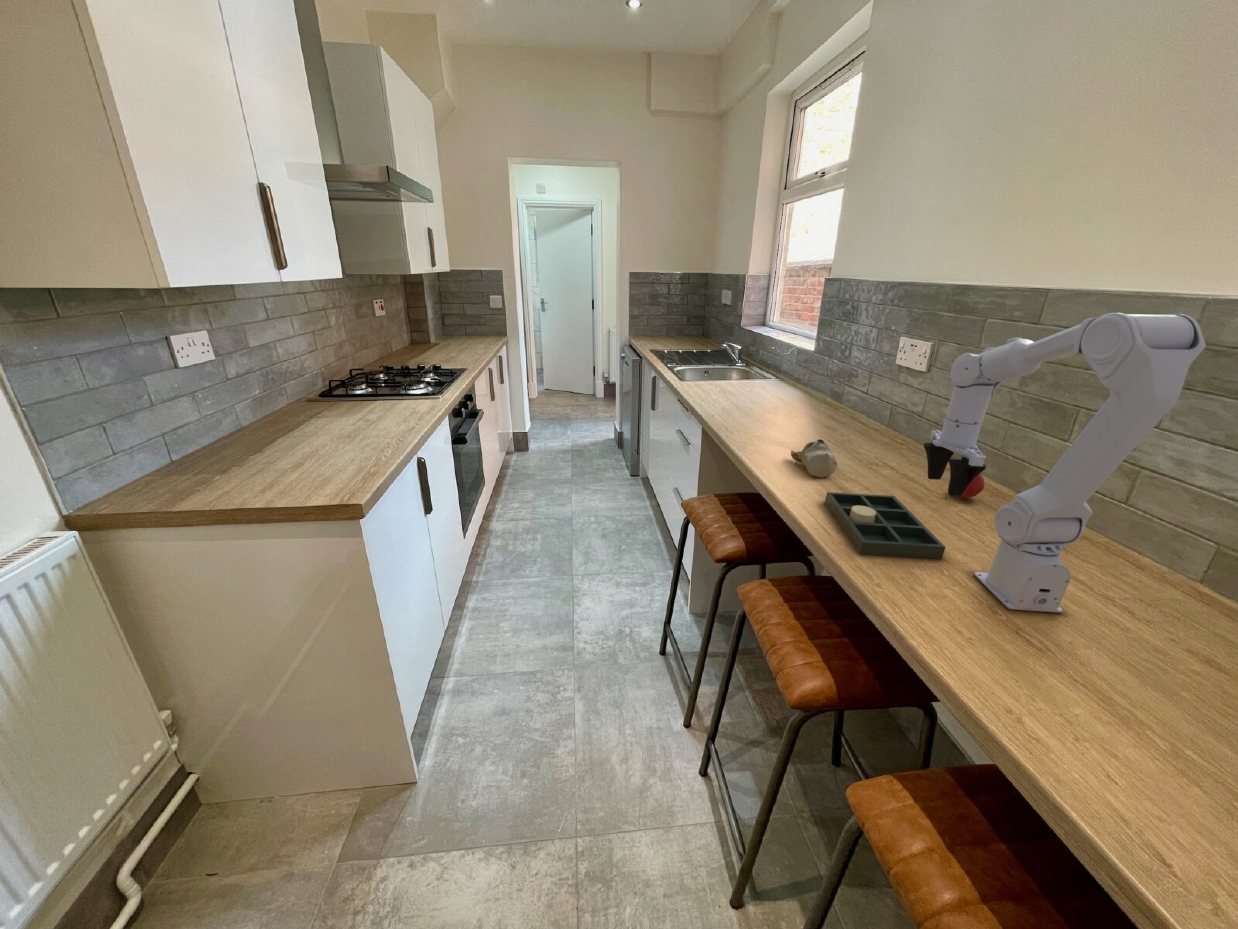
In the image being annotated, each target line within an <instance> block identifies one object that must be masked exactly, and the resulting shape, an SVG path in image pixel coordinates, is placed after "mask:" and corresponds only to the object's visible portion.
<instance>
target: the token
mask: <svg viewBox="0 0 1238 929" xmlns="http://www.w3.org/2000/svg"><path fill="white" fill-rule="evenodd" d="M875 516H876V511H875V510H873V509H872V508H869V507H866V506H860V505H856V506H853V507H852V508H851V512H850V517H849V518H850V520H851V521H852V522H858V523H874V520H875Z"/></svg>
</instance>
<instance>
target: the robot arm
mask: <svg viewBox="0 0 1238 929" xmlns="http://www.w3.org/2000/svg"><path fill="white" fill-rule="evenodd" d="M1206 347H1207V345H1206V341H1205V338H1204V336H1203V332H1202V330H1201V327H1200V325H1199V323H1198V321H1197V320H1196V319H1195V318H1193V316H1190V315H1187V314H1184V313H1168V314H1140V313H1139V314H1134V313H1133V314H1132V313H1122V312H1109V313H1105V314H1103V315H1100V316H1098V317H1092V318H1086V319H1084V320H1083V322H1082V323H1079V324H1077V325H1074V326H1072V327H1068V328H1067V329H1064V330H1061V331H1058V332H1057V333H1056V332H1055V333H1054V334H1052V335H1049V336H1046V337H1043V338H1042V339H1039V340H1036V341H1033V340H1031V339H1027V338H1022V337H1011V338H1009V339H1007V340H1006V343H1005V344H1002V345H999V346H997V347H986V348H984V350H983V351H982V352H980V353H971V352H964V353H963V354H961V355H959V356H958V357H956V358H955V360H954V361H953V363H952V364H951V368H950V378H951V379H950V380H951V382H952V383H953V384H954V387H953V389H952V393H951V397H950V401H949V405H948V408H947V411H946V415H945V418H944V422H943V425H942V429H941V430H935V429H933V430H931V433H930V437H929V440H930V441H931V442H924V443H923V447H924V451H925V453H926V459H927V460H926V461H927V478H928V479H929V480H938V481H940V480H941V479H942V477H943V475H944V473H945V470H946V468H947V465H949V470H950V471H949V473H950V475H949V483H948V487H947V495H949V496H950V497H961V495H962V494H963V493H964V491H965V490H966V488H967V487H968V485H969V484H970V483H971V481H972V480H973V479H974V478H975V477H976V476H977V475H978V474H981V473H983V472H985V470H986V469H987V464H985V460H986V458H987V456H986V455H984V453H982V452H981V450H980V448H979V447H978V446H977V441H978V439H979V435H980V433H981V429H982V426H983V422H984V419H985V417H986V413H987V409H988V406H989V403H990V400H991V398H992V397H994V395H996V392H997V389H998V388H999V386H1000V385H1002V384H1003V383H1004V381H1007V380H1011V379H1015V378H1019V377H1023V376H1027V375H1031V374H1033V373H1034V372H1036V371H1037V370H1038V369H1039V368H1040V367H1041V365H1042V363H1046V362H1050V361H1055V360H1058V359H1059V360H1060V359H1062V358H1067V357H1071V356H1076V355H1083V357H1084V358H1085V360H1086V362H1087V363H1088V365H1089V366H1090V368H1091V369H1092V371H1093V372H1094V374H1095V375H1096V377H1097V378H1098V379H1099V381H1100V382H1101V383H1102V386H1104V387H1105V388H1107V389H1108V392H1109V397H1108V398H1107V399H1106V400H1105V402H1104V403H1103V404H1102V405H1101V407H1100V408H1099V410H1097V412H1096V413H1095V414H1094V416H1093V417H1092V418H1091V419H1090V420H1089V422H1088V423H1087V424H1086V425H1085V427H1084V428H1083V430H1082V431H1081V432H1080V434H1078V436H1077V437H1076V438H1075V439H1074V441H1073V442H1072V443H1071V444H1070V446H1069V447H1068V449H1066V451H1065V452H1064V453H1063V454H1062V456H1061V457H1060V458H1059V460H1057V462H1056V463H1055V465H1054V466H1053V467H1052V468H1051V469H1050V471H1049V473H1047V475H1046V476H1045V477H1044V479H1043V480H1042V481H1041V482H1040V483H1039V484H1038V485H1036V486H1034V487H1031V488H1029V489H1026V490H1024V491H1022V492H1019V493H1018V494H1016V495H1015V496H1014V498H1013V499H1012V500H1011V501H1009V502H1008V503H1005V504H1003V505H1002V506H1000V507H999V508H998V509H997V511H996V512H995V516H994V526H995V527H994V528H995V530H996V532H997V534H998V535H997V537H998V538H1000V540H999V543H998V546H997V549H996V552H995V554H994V556H993V559H992V563H991V565H990V569H989V571H988V572H983V571H975V572H973V575H974V576H975V577H976V578H977V579H978V580H979V581H980V582H981V584H983V585H984V586H985V587H986V589H987V590H989V591H990V592H991V593H992V594H993V595H994V597H996V598H997V599H998V600H999V601H1000V602H1001V604H1003V605H1004V606H1005V607H1006V608H1007V609H1009V610H1017V611H1030V612H1031V611H1033V612H1046V613H1059V614H1060V613H1062V612H1063V608H1061V606H1060V604H1061V602H1062V600H1063V598H1064V595H1065V593H1066V590H1067V589H1068V587H1069V585H1070V584H1069V583H1070V581H1071V576H1072V575H1071V572H1070V570H1069V569H1068V567H1067V566H1066V565H1065V564H1064V563H1063V561H1062V558H1061V551H1065V550H1066V548H1067V546H1068V544H1072V543H1076V542H1077V541H1079V540H1080V539H1081V538H1082V536H1083V535H1084V533H1085V529H1086V525H1087V522H1088V520H1090V518H1091V517H1092V516H1093V515H1094V512H1093V510H1092V508H1091V506H1090V505H1089V504H1088V502H1087V501H1088V500H1089V499H1090V498H1091V497H1092V496H1093V494H1095V493H1096V492H1097V491H1098V489H1099V488H1100V487H1101V486H1102V485H1103V484H1104V483H1105V482H1106V480H1108V478H1109V477H1110V476H1111V475H1112V474H1113V473H1114V471H1116V469H1117V468H1118V467H1119V466H1120V465H1121V464H1122V463H1123V462H1124V461H1125V459H1127V457H1128V456H1129V455H1130V454H1131V453H1132V452H1133V451H1134V449H1136V447H1137V446H1138V445H1139V444H1140V443H1141V442H1142V440H1143V439H1144V438H1145V437H1146V436H1147V435H1148V434H1149V433H1150V432H1151V430H1152V429H1153V428H1154V427H1155V426H1156V425H1157V424H1158V423H1159V422H1160V421H1161V419H1162V418H1163V417H1164V416H1165V415H1166V414H1167V412H1169V411H1170V410H1171V408H1172V407H1173V406H1175V404H1176V402H1177V401H1178V400H1179V397H1180V396H1181V392H1182V391H1183V390H1182V389H1183V387H1184V383H1185V380H1186V378H1187V374H1188V371H1189V369H1190V366H1191V364H1192V363H1193V362H1194V360H1196V358H1198V356H1199V355H1200V354H1201V353H1202V352H1203V350H1204V349H1206ZM954 454H956V455H957V456H959V457H960V459H958V458H957V459H955V458H952V457H953V455H954Z"/></svg>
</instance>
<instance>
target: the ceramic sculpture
mask: <svg viewBox="0 0 1238 929" xmlns="http://www.w3.org/2000/svg"><path fill="white" fill-rule="evenodd" d="M790 456H791V458H792V460H794V461H795V462H797V463H800V464H803V465H804V466H805V468H806V470H807V472H808V474H809V475H810V476H812V477H816V478H819V479H820V478H827V477H830V476H831V475H833V474H834V473H835V471H836V470H837V468H838V464H839V463H838V461H837V459H836V457H835V455H833V452H832V450H831V449H830V447H829V445H828V444H827V443H826V442H825V441H824V440H823V439H817V440H816V441H810V442H808V443H807V444H805V445H804V447H803V449H802V450H801V451H794V450H791V451H790Z"/></svg>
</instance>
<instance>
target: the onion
mask: <svg viewBox="0 0 1238 929" xmlns="http://www.w3.org/2000/svg"><path fill="white" fill-rule="evenodd" d="M984 488H985V479H984V477H983V475H982V474H981V473H980V474H978V475H977V476H976V477H975V478H974V479H973V480H972V481H971V483H970V484H969V485H968V487H967V488H966V490H965V491H964V493H963V494H962V495H961V496H960V498H961V499H969V498H973V497H975V496H978V495H979V494H980V493H982V491H983V490H984Z"/></svg>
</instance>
